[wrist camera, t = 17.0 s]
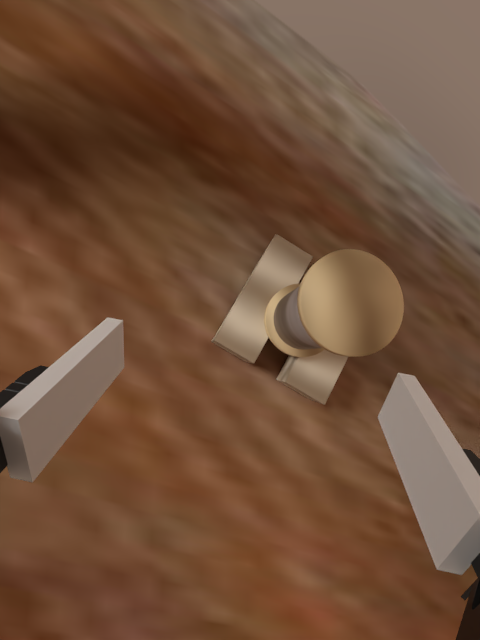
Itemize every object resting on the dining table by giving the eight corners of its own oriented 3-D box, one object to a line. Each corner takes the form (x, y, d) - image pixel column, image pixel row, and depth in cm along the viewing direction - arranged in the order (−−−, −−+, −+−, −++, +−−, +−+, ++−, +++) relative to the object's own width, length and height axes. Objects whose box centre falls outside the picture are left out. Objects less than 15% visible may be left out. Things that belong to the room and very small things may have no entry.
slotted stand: (311, 399, 38) (324, 404, 34) (211, 341, 37) (213, 339, 33) (359, 303, 40) (377, 297, 36) (267, 246, 39) (276, 233, 35)
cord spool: (284, 369, 34) (333, 375, 22) (251, 303, 34) (283, 274, 22) (345, 337, 35) (421, 327, 23) (313, 274, 36) (373, 233, 24)
